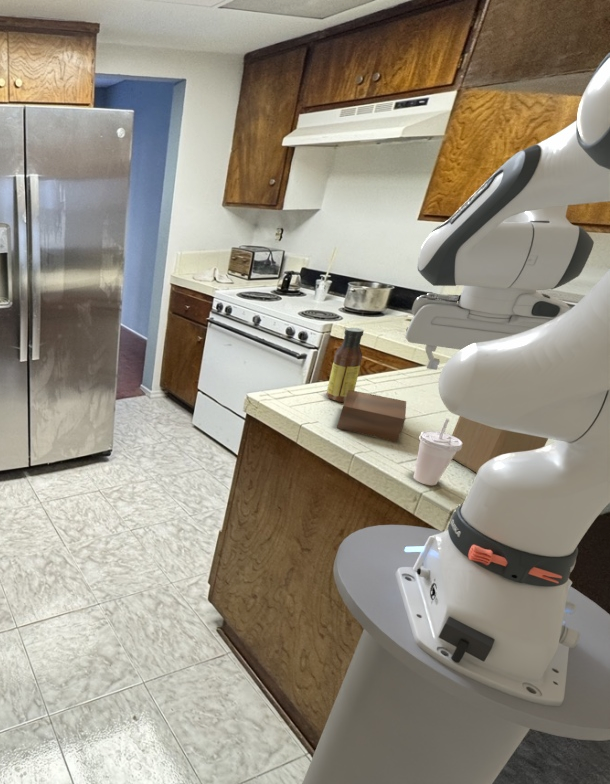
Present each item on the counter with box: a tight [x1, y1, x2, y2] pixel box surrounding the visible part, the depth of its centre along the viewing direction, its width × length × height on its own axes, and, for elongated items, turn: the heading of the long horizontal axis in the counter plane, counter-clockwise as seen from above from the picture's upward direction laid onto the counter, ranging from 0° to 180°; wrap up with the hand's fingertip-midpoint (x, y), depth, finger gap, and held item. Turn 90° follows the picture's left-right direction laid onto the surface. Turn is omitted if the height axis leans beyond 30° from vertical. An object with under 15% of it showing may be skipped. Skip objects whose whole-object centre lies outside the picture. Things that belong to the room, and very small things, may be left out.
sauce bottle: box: [326, 327, 365, 403], centre depth 126 cm, size 6×6×20 cm
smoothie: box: [413, 417, 463, 486], centre depth 92 cm, size 6×6×14 cm
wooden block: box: [451, 416, 549, 474], centre depth 95 cm, size 10×10×20 cm
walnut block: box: [336, 390, 407, 443], centre depth 114 cm, size 12×12×6 cm
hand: (464, 373), depth 85 cm, fingers open, 8 cm apart
